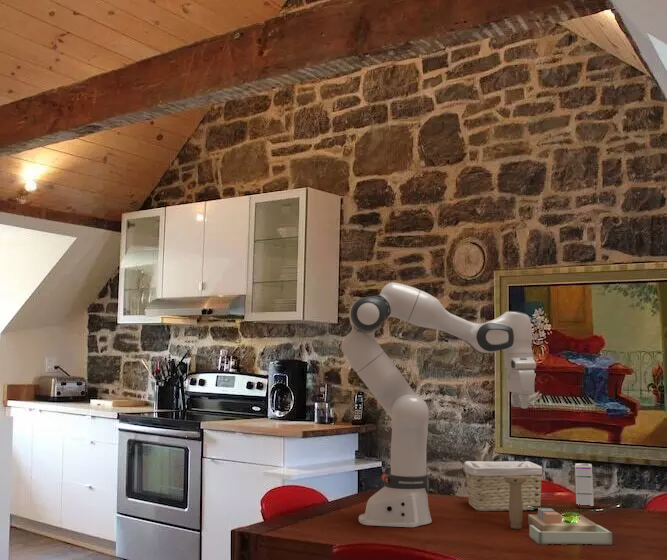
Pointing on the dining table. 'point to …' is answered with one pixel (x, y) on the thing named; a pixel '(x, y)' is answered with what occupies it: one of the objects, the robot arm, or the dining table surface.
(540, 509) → the tile
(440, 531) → the dining table surface
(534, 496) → the storage basket
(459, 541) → the dining table surface
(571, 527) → the square wooden board
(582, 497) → the syrup box
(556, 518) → the tile
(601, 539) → the tray
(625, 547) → the dining table surface
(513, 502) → the handle
